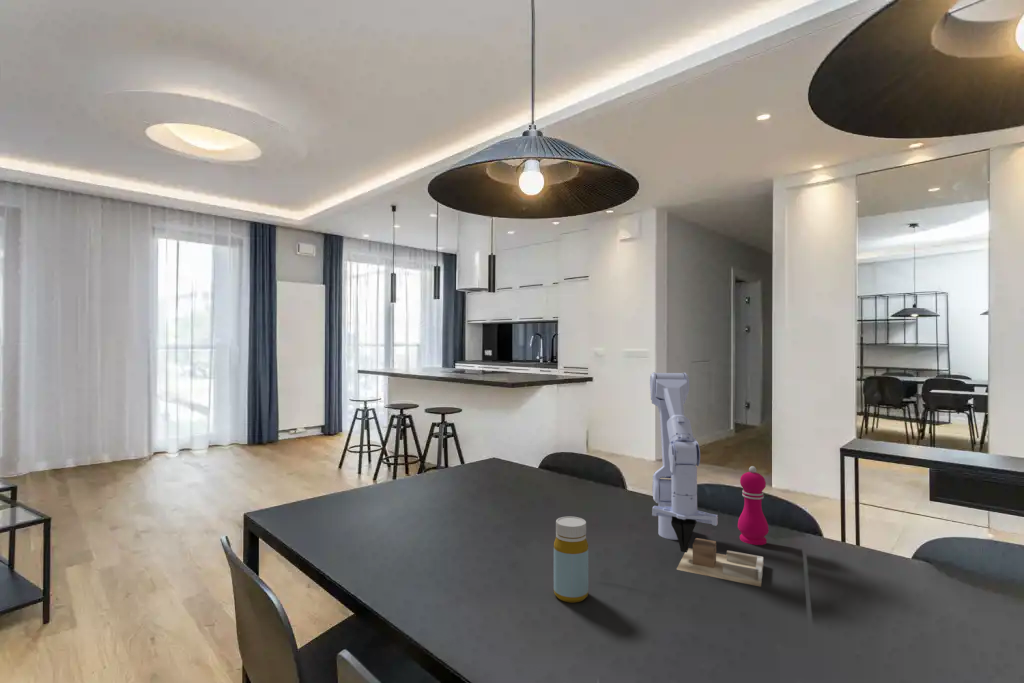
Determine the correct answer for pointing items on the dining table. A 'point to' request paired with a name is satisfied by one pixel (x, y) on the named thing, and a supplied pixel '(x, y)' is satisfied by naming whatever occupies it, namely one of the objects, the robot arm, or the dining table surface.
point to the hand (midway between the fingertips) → (684, 550)
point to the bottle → (571, 560)
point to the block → (704, 552)
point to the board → (728, 567)
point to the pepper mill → (753, 509)
